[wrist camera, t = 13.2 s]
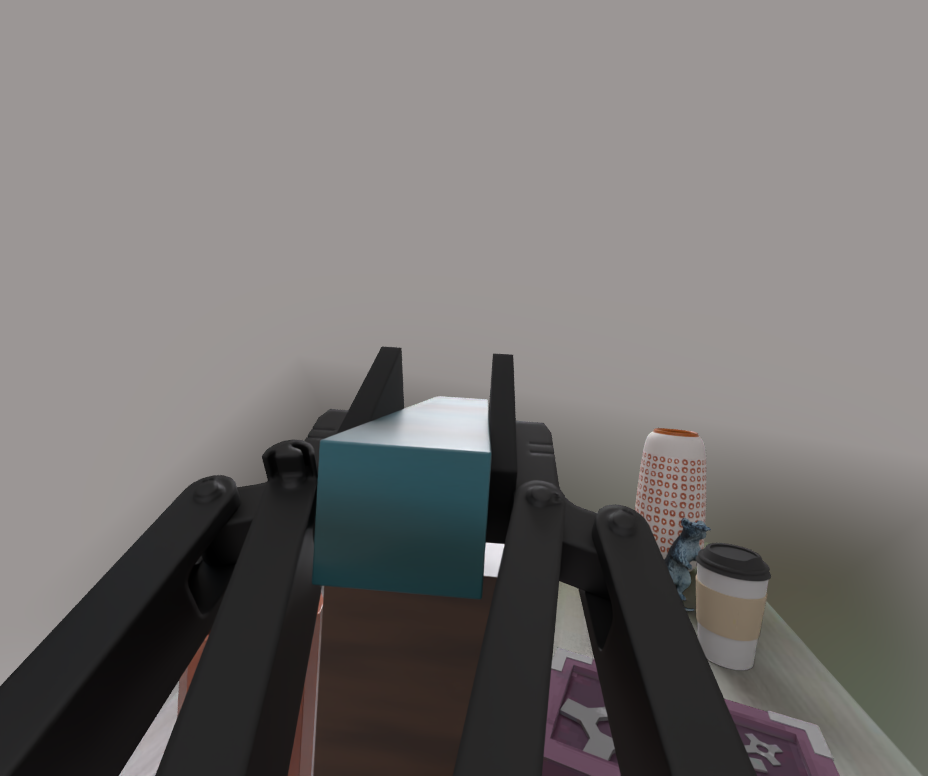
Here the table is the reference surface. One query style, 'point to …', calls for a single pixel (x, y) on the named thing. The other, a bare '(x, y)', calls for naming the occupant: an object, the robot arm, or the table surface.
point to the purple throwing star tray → (592, 749)
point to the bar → (406, 501)
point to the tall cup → (306, 724)
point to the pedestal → (397, 678)
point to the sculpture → (685, 554)
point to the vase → (672, 484)
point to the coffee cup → (730, 603)
